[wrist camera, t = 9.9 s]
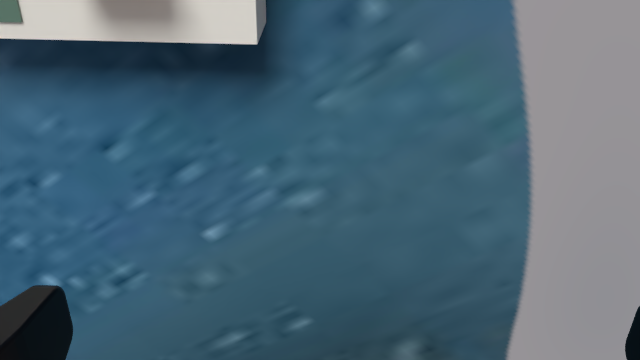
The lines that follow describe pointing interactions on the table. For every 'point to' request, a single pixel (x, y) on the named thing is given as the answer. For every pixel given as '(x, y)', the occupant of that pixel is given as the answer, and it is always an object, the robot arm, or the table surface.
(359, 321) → the table surface
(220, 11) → the cradle
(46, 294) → the robot arm
